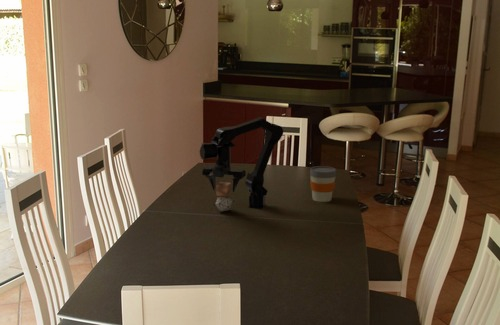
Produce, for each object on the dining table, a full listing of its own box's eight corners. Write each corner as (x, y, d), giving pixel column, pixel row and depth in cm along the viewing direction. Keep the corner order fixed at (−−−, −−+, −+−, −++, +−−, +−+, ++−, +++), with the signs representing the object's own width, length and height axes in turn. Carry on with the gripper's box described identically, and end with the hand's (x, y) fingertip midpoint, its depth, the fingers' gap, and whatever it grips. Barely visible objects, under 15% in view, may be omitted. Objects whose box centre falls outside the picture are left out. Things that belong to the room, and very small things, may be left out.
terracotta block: (230, 193, 248) (230, 182, 247) (227, 196, 243) (226, 185, 242) (220, 192, 249) (220, 181, 248) (216, 195, 245) (216, 184, 243)
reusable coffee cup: (334, 195, 272) (335, 166, 269) (335, 203, 260) (337, 172, 257) (308, 194, 274) (309, 165, 270) (308, 202, 261) (310, 172, 258)
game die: (219, 219, 248) (206, 203, 246) (228, 208, 254) (215, 191, 252) (232, 214, 242) (218, 197, 240) (241, 202, 248) (228, 185, 246)
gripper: (196, 159, 237) (197, 194, 241) (237, 162, 232) (237, 198, 236) (206, 153, 248) (207, 187, 252) (246, 157, 242) (245, 191, 246)
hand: (223, 191), depth 246 cm, fingers open, 9 cm apart
